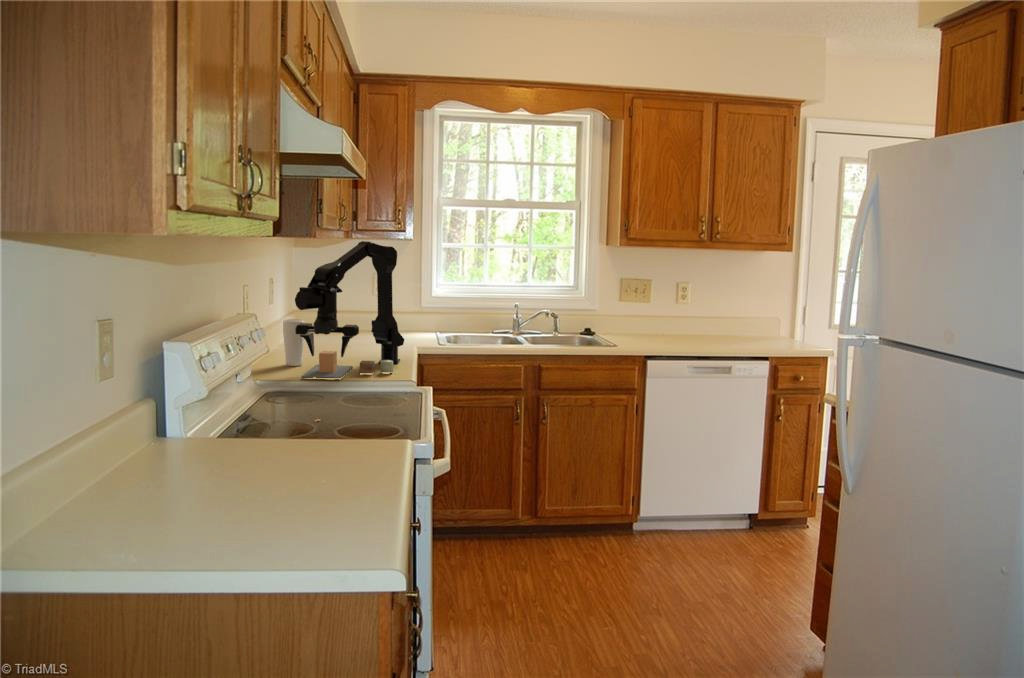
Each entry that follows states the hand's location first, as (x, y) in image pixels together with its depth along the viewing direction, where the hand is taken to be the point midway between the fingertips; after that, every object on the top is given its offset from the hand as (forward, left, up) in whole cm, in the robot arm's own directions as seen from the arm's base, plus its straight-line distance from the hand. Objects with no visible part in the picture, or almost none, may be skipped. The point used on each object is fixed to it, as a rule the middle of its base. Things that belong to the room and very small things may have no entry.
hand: (327, 356), depth 249 cm
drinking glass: (-12, -14, -6) cm, 19 cm away
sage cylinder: (-4, +18, -6) cm, 19 cm away
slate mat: (0, 0, -6) cm, 6 cm away
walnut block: (-2, +12, -6) cm, 14 cm away
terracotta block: (0, 0, -5) cm, 5 cm away
